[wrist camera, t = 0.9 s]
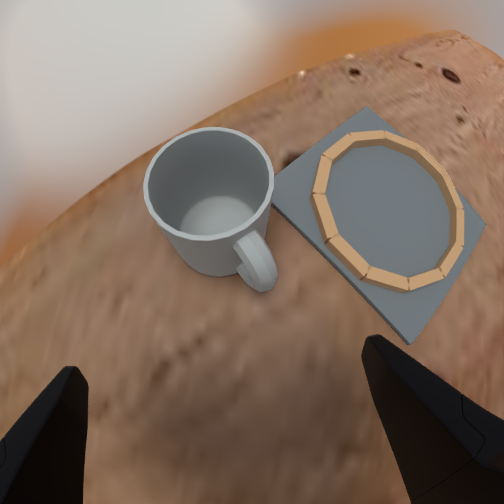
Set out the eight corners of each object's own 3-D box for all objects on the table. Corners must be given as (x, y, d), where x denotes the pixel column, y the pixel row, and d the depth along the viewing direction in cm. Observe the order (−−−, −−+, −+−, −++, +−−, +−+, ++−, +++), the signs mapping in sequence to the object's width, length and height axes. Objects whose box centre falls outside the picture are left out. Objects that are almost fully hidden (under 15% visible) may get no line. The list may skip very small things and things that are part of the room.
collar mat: (483, 226, 26) (492, 219, 24) (407, 344, 22) (418, 344, 21) (364, 109, 29) (369, 98, 27) (258, 192, 26) (259, 182, 24)
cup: (231, 179, 26) (226, 109, 18) (304, 272, 24) (334, 232, 15) (160, 224, 25) (123, 168, 16) (228, 326, 23) (217, 316, 14)
